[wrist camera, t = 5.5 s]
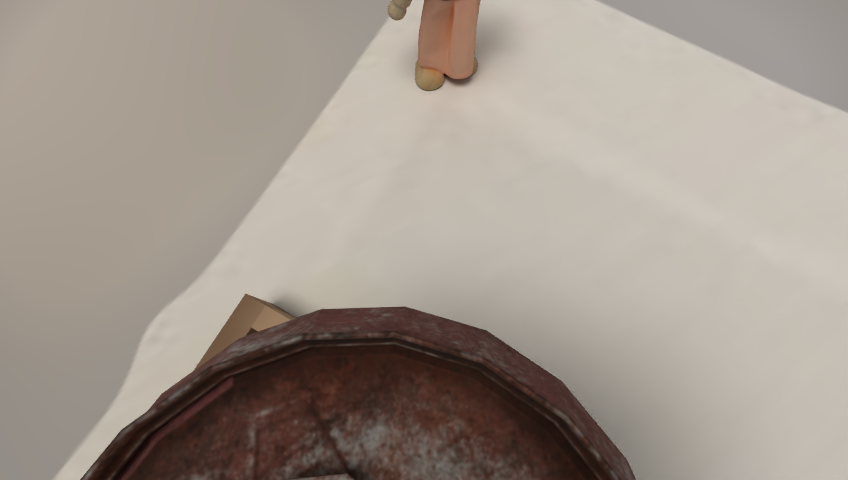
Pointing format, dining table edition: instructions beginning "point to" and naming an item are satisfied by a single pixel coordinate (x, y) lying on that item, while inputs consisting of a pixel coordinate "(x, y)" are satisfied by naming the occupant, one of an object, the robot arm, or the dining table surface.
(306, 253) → the dining table surface
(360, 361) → the can
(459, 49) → the grandmother figurine
